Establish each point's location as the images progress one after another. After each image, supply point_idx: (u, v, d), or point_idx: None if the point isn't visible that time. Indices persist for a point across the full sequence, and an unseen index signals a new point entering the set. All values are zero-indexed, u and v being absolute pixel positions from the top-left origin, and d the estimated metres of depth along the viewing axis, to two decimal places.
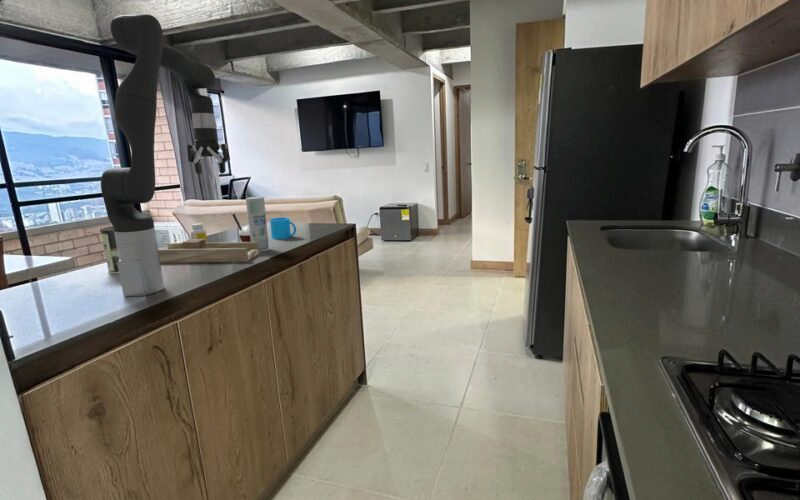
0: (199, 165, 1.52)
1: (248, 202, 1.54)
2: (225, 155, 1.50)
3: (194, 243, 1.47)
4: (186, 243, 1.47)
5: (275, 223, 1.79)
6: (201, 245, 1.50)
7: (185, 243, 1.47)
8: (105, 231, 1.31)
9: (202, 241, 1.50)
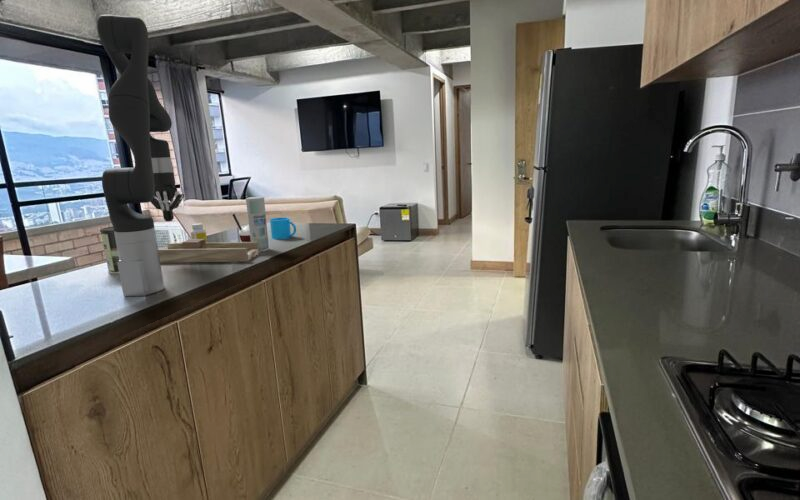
0: None
1: (248, 202, 1.54)
2: (174, 204, 1.46)
3: (194, 243, 1.47)
4: (186, 243, 1.47)
5: (275, 223, 1.79)
6: (201, 245, 1.50)
7: (185, 243, 1.47)
8: (105, 231, 1.31)
9: (202, 241, 1.50)
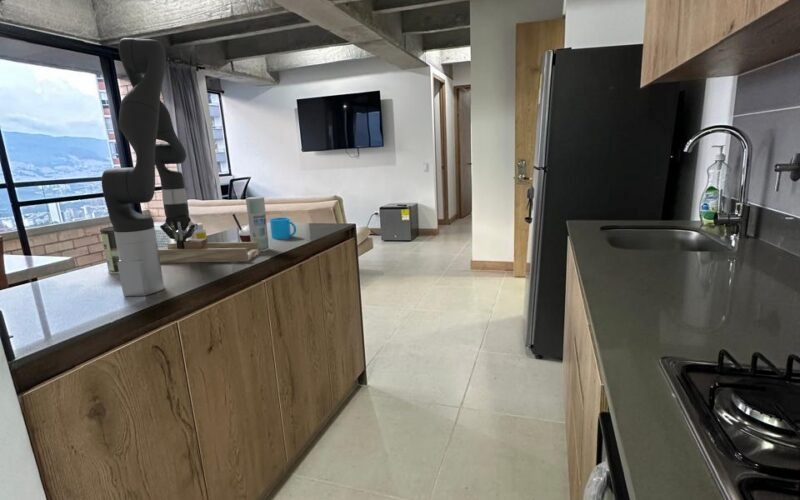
0: None
1: (248, 202, 1.54)
2: (188, 234, 1.48)
3: (196, 243, 1.47)
4: (188, 243, 1.47)
5: (275, 223, 1.79)
6: (203, 245, 1.50)
7: (187, 243, 1.47)
8: (105, 231, 1.31)
9: (204, 241, 1.50)
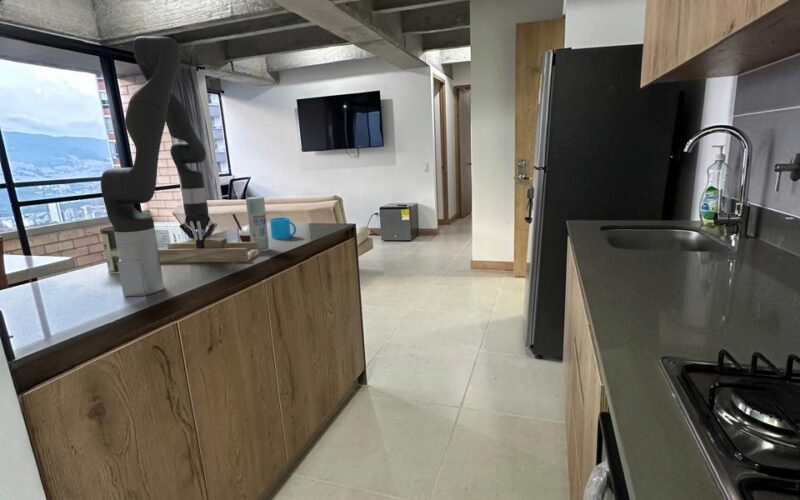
0: None
1: (248, 202, 1.54)
2: (207, 234, 1.48)
3: (216, 242, 1.47)
4: (208, 242, 1.47)
5: (275, 223, 1.79)
6: (223, 244, 1.50)
7: (207, 242, 1.47)
8: (105, 231, 1.31)
9: (223, 240, 1.50)
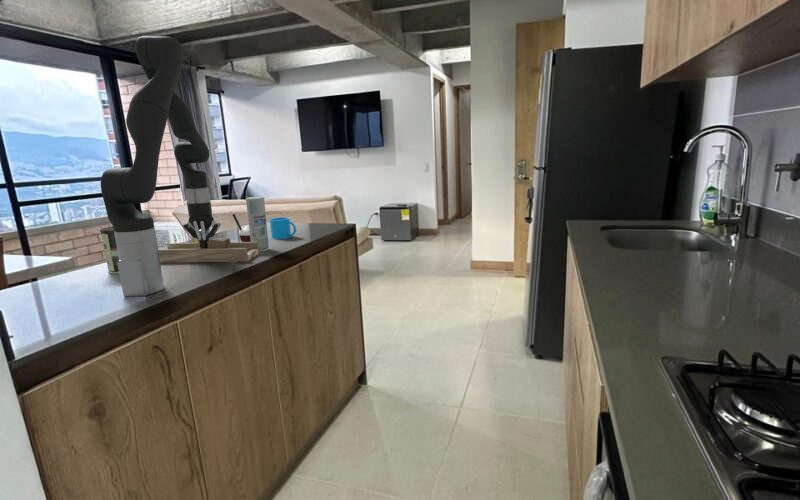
0: None
1: (248, 202, 1.54)
2: (211, 234, 1.48)
3: (219, 242, 1.47)
4: (211, 242, 1.47)
5: (275, 223, 1.79)
6: (226, 244, 1.50)
7: (210, 242, 1.47)
8: (105, 231, 1.31)
9: (227, 240, 1.50)
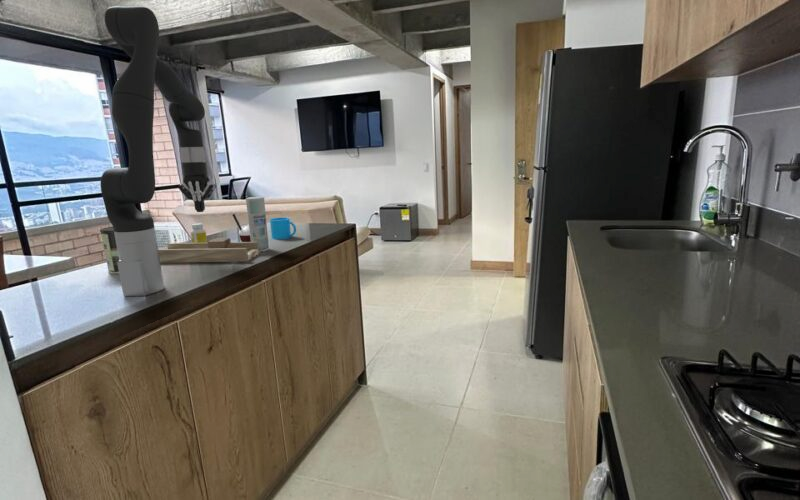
0: None
1: (248, 202, 1.54)
2: (206, 195, 1.44)
3: (219, 242, 1.47)
4: (211, 242, 1.47)
5: (275, 223, 1.79)
6: (226, 244, 1.50)
7: (210, 242, 1.47)
8: (105, 231, 1.31)
9: (227, 240, 1.50)
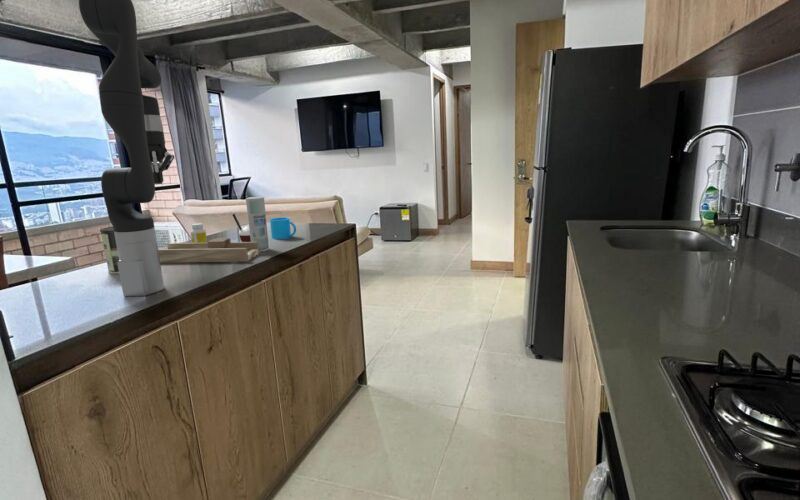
0: None
1: (248, 202, 1.54)
2: (164, 165, 1.39)
3: (219, 242, 1.47)
4: (211, 242, 1.47)
5: (275, 223, 1.79)
6: (226, 244, 1.50)
7: (210, 242, 1.47)
8: (105, 231, 1.31)
9: (227, 240, 1.50)
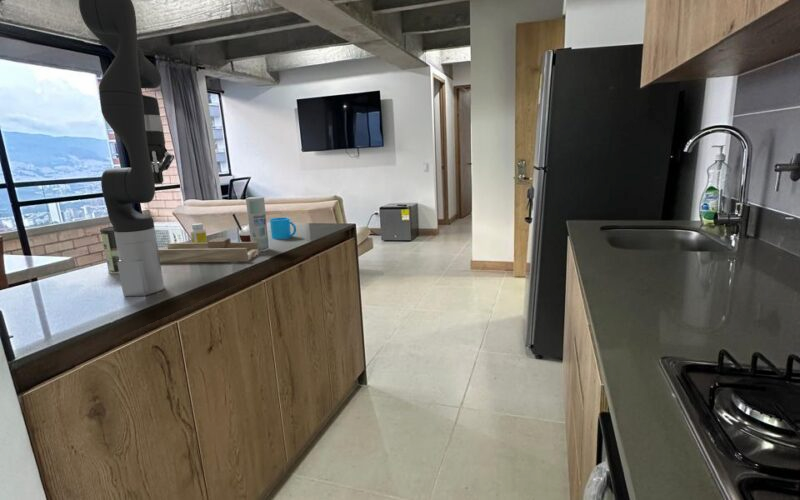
0: None
1: (248, 202, 1.54)
2: (164, 165, 1.39)
3: (219, 242, 1.47)
4: (211, 242, 1.47)
5: (275, 223, 1.79)
6: (226, 244, 1.50)
7: (210, 242, 1.47)
8: (105, 231, 1.31)
9: (227, 240, 1.50)
